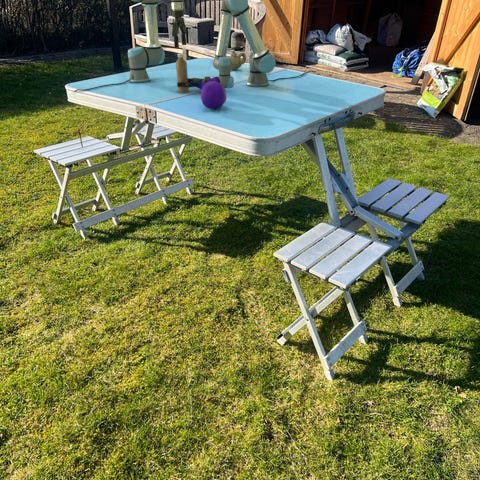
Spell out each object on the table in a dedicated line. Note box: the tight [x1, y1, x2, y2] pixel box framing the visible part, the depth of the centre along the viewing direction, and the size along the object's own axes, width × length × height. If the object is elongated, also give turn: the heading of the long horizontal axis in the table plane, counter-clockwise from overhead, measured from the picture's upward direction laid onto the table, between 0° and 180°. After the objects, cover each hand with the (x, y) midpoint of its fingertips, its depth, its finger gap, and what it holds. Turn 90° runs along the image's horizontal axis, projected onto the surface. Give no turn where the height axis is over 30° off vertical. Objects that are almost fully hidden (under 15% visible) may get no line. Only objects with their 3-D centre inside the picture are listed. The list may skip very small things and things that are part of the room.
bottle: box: [175, 57, 190, 94], centre depth 299 cm, size 7×7×24 cm
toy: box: [189, 76, 227, 111], centre depth 263 cm, size 16×18×27 cm
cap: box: [177, 52, 185, 58], centre depth 294 cm, size 4×4×2 cm
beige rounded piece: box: [228, 50, 247, 71], centre depth 368 cm, size 21×12×15 cm, turn 120°
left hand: (180, 46), depth 292 cm, fingers open, 13 cm apart
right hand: (179, 82), depth 302 cm, fingers open, 13 cm apart
